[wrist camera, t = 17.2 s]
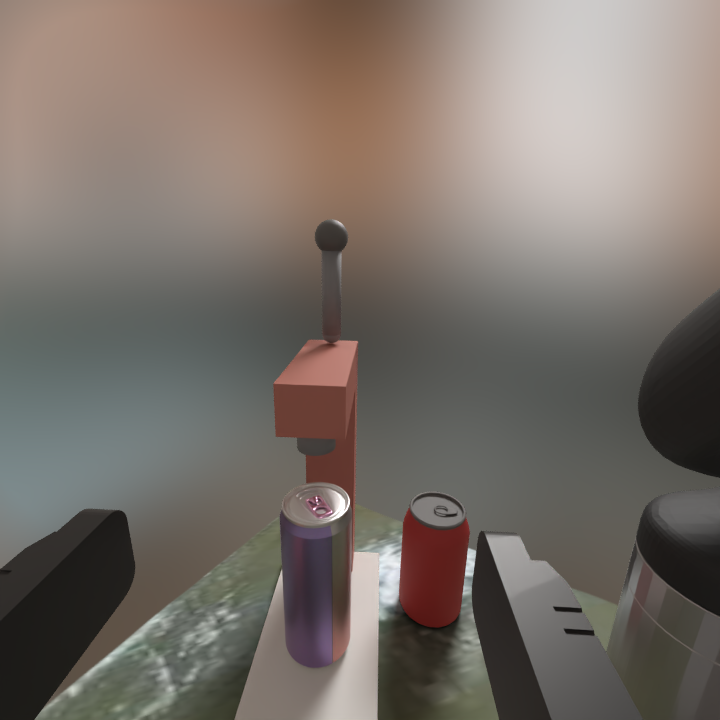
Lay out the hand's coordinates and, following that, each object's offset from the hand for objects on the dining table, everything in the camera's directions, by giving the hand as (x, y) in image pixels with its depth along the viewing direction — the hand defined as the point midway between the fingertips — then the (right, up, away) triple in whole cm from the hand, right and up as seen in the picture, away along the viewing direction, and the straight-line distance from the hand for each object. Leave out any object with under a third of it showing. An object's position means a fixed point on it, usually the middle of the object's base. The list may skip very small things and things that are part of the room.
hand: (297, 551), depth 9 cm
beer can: (+9, -22, +33) cm, 41 cm away
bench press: (-2, -23, +30) cm, 37 cm away
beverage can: (-3, -22, +27) cm, 35 cm away
